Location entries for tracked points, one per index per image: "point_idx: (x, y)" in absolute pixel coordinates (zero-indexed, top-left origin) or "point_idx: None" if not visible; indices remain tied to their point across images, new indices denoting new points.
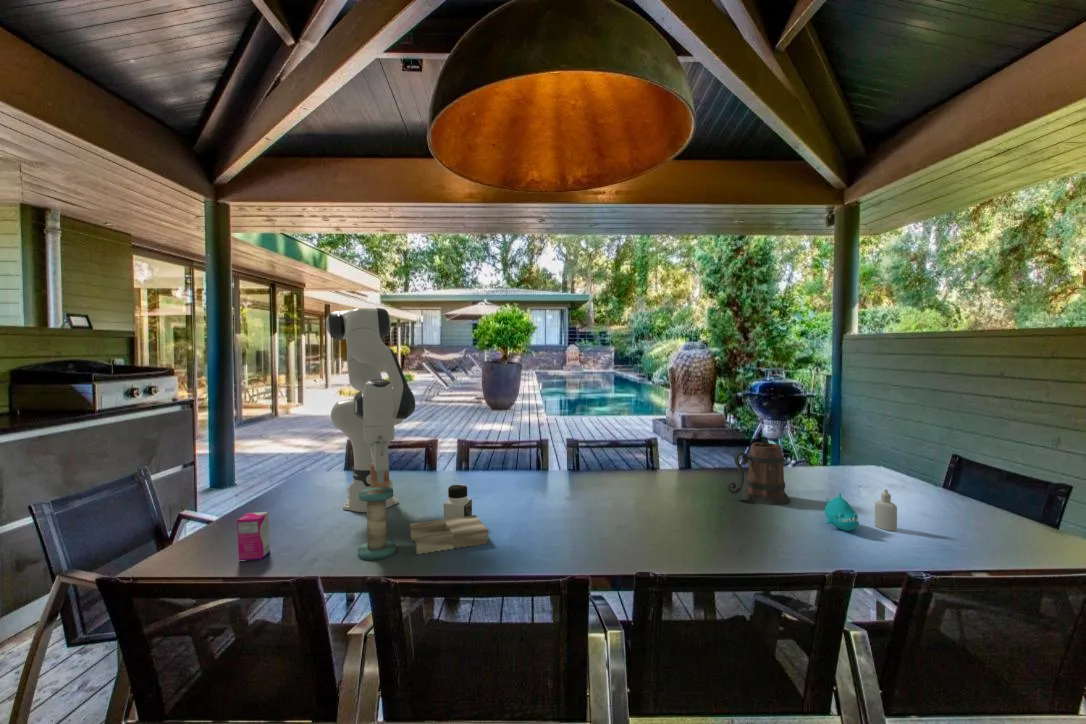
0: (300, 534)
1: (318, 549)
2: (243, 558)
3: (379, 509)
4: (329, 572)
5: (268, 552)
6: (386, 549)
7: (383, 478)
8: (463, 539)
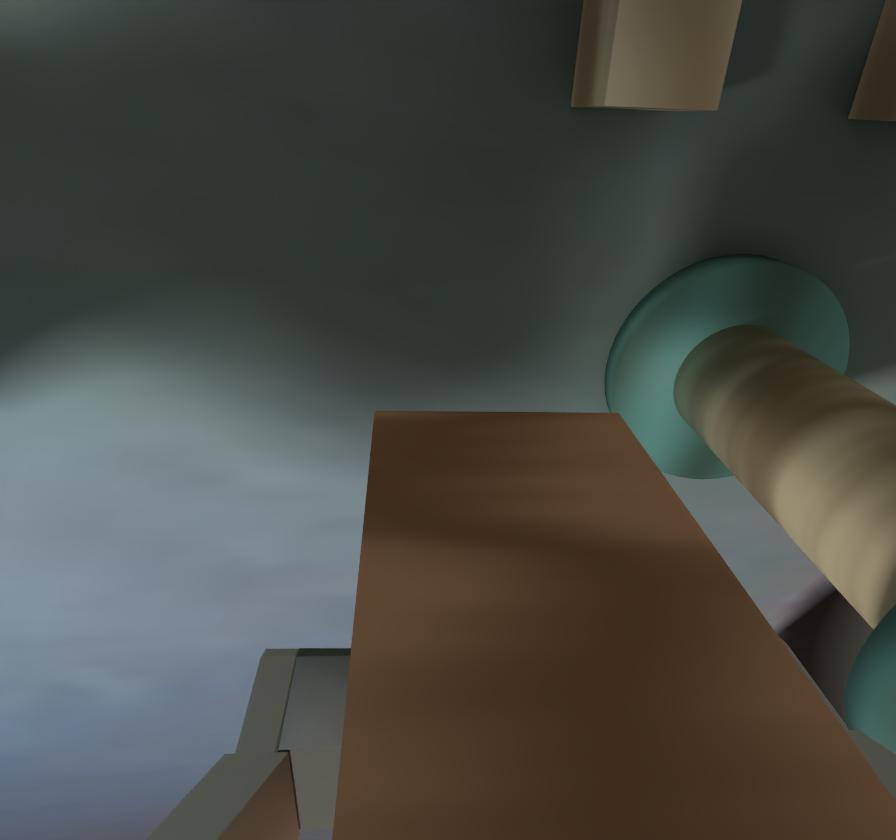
0: (236, 689)
1: None
2: None
3: None
4: (802, 567)
5: None
6: (810, 331)
7: (828, 704)
8: None
